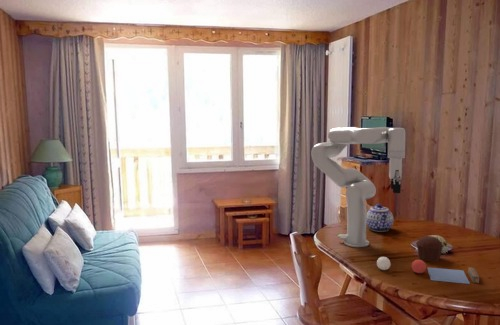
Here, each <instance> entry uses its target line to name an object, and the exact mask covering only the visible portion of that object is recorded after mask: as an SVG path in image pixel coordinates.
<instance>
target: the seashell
mask: <svg viewBox="0 0 500 325" xmlns="http://www.w3.org/2000/svg"><path fill="white" fill-rule="evenodd" d="M431 236H433V237H436V238H437V239H438V240H439V241H440V242H441V243H442V245H443V247H442V251H441V254H447V253H448V250H449V248H448V247H449V245H448V242H447V241H446V240H445V238H444V237H442V236H441V235H438V234H435V235H433V234H432V235H431ZM446 252H447V253H446Z"/></svg>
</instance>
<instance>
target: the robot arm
mask: <svg viewBox="0 0 500 325" xmlns="http://www.w3.org/2000/svg"><path fill="white" fill-rule="evenodd" d="M327 139H328V140H329V141H328V142H327V141H325V142H319V143H317V144H315V145H314V146H313V147H312V148H311V154H310V156H311V160H312V162H313V164H314V165H315V166H316V168H317V169H319V170H320V171H321V172H322V173H323V174H325V175H326V177H328V178H329V179H330V181H332V182H333V183H334V184H335V185H336V186H338V188H346V189H345V200H346V208H347V209H346V212H347V216H346V218H347V219H346V223H347V224H346V233H345V234H338V236H337V237H338V239H339V240H343V244H344V245H345V246H348V247H350V248H365V247H368V246H370V241H369V240H367V224H366V220H367V212H368V211H367V206H366V202H365V201H366V200H369V199H372V198H373V197H374V196H375V195H376V193H377V192H376V191H377V188H376V186H375V184H374V183H373V181H371V180H370V179H369V178H368V177H367V176H365V174H363V173H362V172H361V171H360V170H358V169H357V168H353V167H348V168H344V167H342V166H341V165H340V164H339V163H338V162H337V161H335V160H333V159H331V158H336V157H337V156H339V155H340V154H341V153H342V152H343V150H345V149H346V147H348V145H362V144H363V145H374V144H375V145H377V144H384V143H387V158H388V159H389V163H388V166H389V167H388V178H389V179H390V190H392V193H393V194H401V188H402V187H401V186H402V185H401V180H402V175H403V159H405V158H406V129H405V128H404V127H388V126H379V127H357V126H347V127H346V126H344V127H343V126H341V127H333V128H331V129H330V130H329V131H328V133H327Z"/></svg>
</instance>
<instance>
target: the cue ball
mask: <svg viewBox="0 0 500 325" xmlns="http://www.w3.org/2000/svg"><path fill="white" fill-rule="evenodd" d="M391 265H392V264H391V261H390V259H389V258H388V257H386V256H380V257H378V259H377V260H376V266H377V267H378V269H379V270H381V271H387V270H388V269H390V268H391Z"/></svg>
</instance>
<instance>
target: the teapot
mask: <svg viewBox="0 0 500 325" xmlns="http://www.w3.org/2000/svg"><path fill="white" fill-rule="evenodd" d="M382 205H383V204H382V203H376V204H374V205H373V206H371V207H369V210H368V211H367V220H366V227H368V228H369V229H370V230H371V231H373V232H379V233H380V232H381V233H382V232H383V233H384V232H388V231H389V230H390V229H391V228H392V227H393V225H394V215H393V213H392V212H391V211H390V210H389V208H388V207H385V206H382Z"/></svg>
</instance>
